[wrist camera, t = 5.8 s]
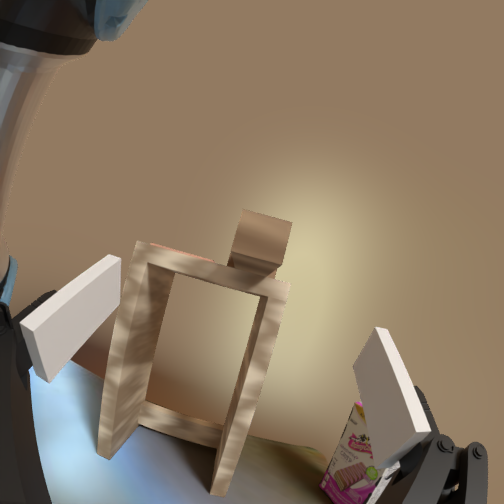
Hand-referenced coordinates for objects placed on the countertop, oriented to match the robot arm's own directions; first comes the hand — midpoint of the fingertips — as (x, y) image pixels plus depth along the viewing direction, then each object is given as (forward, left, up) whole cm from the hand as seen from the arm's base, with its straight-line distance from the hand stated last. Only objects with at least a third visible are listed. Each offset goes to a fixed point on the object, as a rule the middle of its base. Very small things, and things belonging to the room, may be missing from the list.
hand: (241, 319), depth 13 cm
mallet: (0, +17, +4) cm, 17 cm away
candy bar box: (+22, +18, -27) cm, 39 cm away
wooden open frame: (-5, +24, -26) cm, 36 cm away
